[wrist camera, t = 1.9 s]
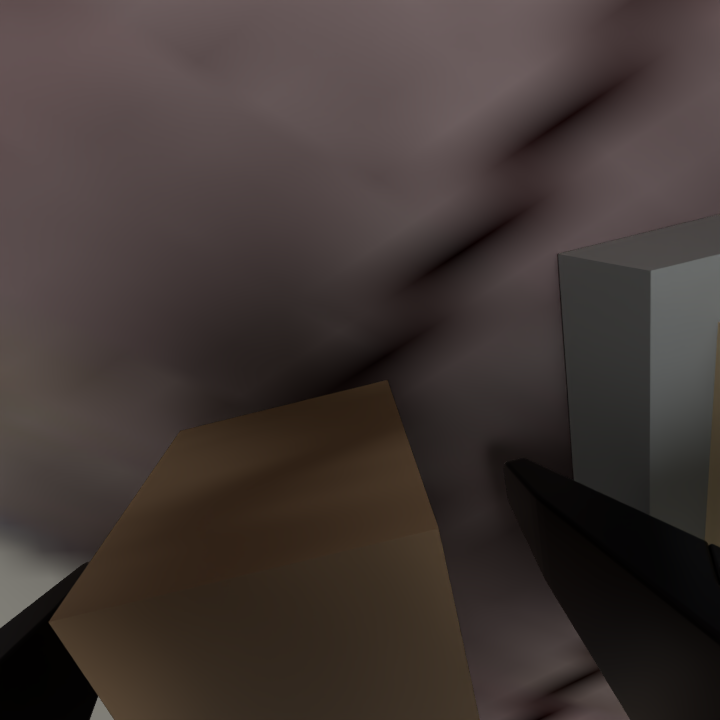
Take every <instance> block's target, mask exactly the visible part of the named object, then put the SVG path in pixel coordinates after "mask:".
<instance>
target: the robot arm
mask: <svg viewBox="0 0 720 720" xmlns="http://www.w3.org/2000/svg"><path fill="white" fill-rule="evenodd" d="M504 475H505V483H506V490H507V497H508V500H509V504H510V506H511V509H512V511H513V513H514V515H515V517H516V519H517V521H518V523H519V526H520V528H521V530H522V532H523V534H524V536H525V538H526V540H527V543H528V545H529V547H530V549H531V551H532V553H533V555H534V557H535V560H536V562H537V564H538V566H539V568H540V570H541V572H542V574H543V576H544V578H545V580H546V582H547V583H548V585H549V587H550V589H551V590H552V592H553V594H554V595H555V597H556V599H557V600H558V602H559V603H560V605H561V607H562V608H563V610H564V612H565V613H566V615H567V617H568V618H569V620H570V621H571V623H572V625H573V626H574V628H575V630H576V631H577V633H578V635H579V636H580V638H581V640H582V641H583V643H584V644H585V646H586V648H587V649H588V651H589V653H590V654H591V656H592V658H593V659H594V661H595V663H596V664H597V666H598V667H599V669H600V671H601V672H602V674H603V676H604V677H605V679H606V681H607V682H608V684H609V685H610V687H611V689H612V690H613V692H614V694H615V695H616V697H617V699H618V700H619V702H620V704H621V705H622V707H623V708H624V710H625V712H626V713H627V715H628V717H629V718H630V720H720V547H719V546H717V545H714V544H709V546H708V543H707V542H706V541H705V540H703V539H701V538H699V537H697V536H694V535H692V534H690V533H688V532H686V531H683V530H681V529H679V528H677V527H675V526H673V525H670V524H668V523H666V522H664V521H662V520H659V519H657V518H655V517H653V516H651V515H649V514H646V513H644V512H642V511H640V510H638V509H635V508H633V507H631V506H629V505H627V504H625V503H622V502H620V501H618V500H616V499H614V498H611V497H609V496H607V495H605V494H603V493H601V492H598V491H596V490H594V489H592V488H590V487H587V486H585V485H583V484H581V483H579V482H577V481H574V480H572V479H570V478H568V477H566V476H563V475H561V474H559V473H557V472H555V471H553V470H550V469H548V468H546V467H544V466H542V465H539V464H537V463H535V462H533V461H531V460H528V459H526V458H519V459H515V460H511V461H507V462H505V464H504ZM88 564H89V562H87V563H84V564H83V565H81V566H80V567H79V568H77V569H76V570H75V571H73V572H72V573H71V574H69V575H68V576H67V577H66V578H64V579H63V580H62V581H60V582H59V583H58V584H57V585H55V586H54V587H53V588H52V589H50V590H49V591H48V592H46V593H45V594H44V595H43V596H41V597H40V598H39V599H38V600H36V601H35V602H34V603H32V604H31V605H30V606H28V607H27V608H26V609H24V610H23V611H22V612H21V613H19V614H18V615H17V616H16V617H14V618H13V619H12V620H11V621H9V622H8V623H7V624H5V625H4V626H3V627H2V628H0V720H90V717H91V714H92V711H93V709H94V706H95V704H96V701H97V698H98V695H97V693H96V692H95V690H94V689H93V687H92V686H91V684H90V683H89V681H88V680H87V679H86V677H85V676H84V674H83V673H82V671H81V670H80V668H79V667H78V665H77V664H76V662H75V661H74V659H73V658H72V656H71V655H70V653H69V652H68V650H67V649H66V647H65V646H64V645H63V643H62V642H61V640H60V639H59V637H58V636H57V634H56V633H55V631H54V630H53V628H52V627H51V625H50V624H49V621H50V619H51V618H52V616H53V615H54V613H55V612H56V610H57V609H58V608H59V606H60V605H61V603H62V602H63V600H64V599H65V597H66V596H67V594H68V593H69V592H70V590H71V589H72V587H73V586H74V584H75V583H76V581H77V580H78V578H79V577H80V576H81V574H82V573H83V571H84V570H85V568H86V567H87V565H88Z"/></svg>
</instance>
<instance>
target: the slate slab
mask: <svg viewBox="0 0 720 720" xmlns="http://www.w3.org/2000/svg"><path fill="white" fill-rule="evenodd" d="M558 261H559V275H560V289H561V304H562V318H563V332H564V347H565V361H566V375H567V389H568V404H569V418H570V432H571V447H572V461H573V475H574V481H577V482H579V483H581V484H583V485H585V486H587V487H590V488H592V489H594V490H596V491H598V492H601V493H603V494H605V495H607V496H609V497H611V498H614V499H616V500H618V501H620V502H622V503H625V504H627V505H629V506H631V507H633V508H635V509H638V510H640V511H642V512H644V513H646V514H649V515H651V516H653V517H655V518H657V519H659V520H662V521H664V522H666V523H668V524H670V525H673V526H675V527H677V528H679V529H681V530H683V531H686V532H688V533H690V534H692V535H694V536H697V537H699V538H701V539H703V540H705V528H706V511H707V495H708V479H709V463H710V446H711V430H712V414H713V397H714V381H715V365H716V349H717V332H718V322H720V214H718V215H714V216H710V217H706V218H702V219H698V220H694V221H690V222H686V223H682V224H678V225H674V226H670V227H665V228H661V229H657V230H653V231H649V232H645V233H641V234H637V235H633V236H629V237H625V238H621V239H617V240H613V241H609V242H605V243H600V244H596V245H592V246H588V247H584V248H580V249H576V250H572V251H568V252H564V253H560V254H558Z"/></svg>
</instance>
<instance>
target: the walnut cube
mask: <svg viewBox="0 0 720 720" xmlns="http://www.w3.org/2000/svg"><path fill="white" fill-rule="evenodd" d="M49 624H50V625H51V627H52V628H53V630H54V631H55V633H56V634H57V636H58V637H59V639H60V640H61V642H62V643H63V645H64V646H65V647H66V649H67V650H68V652H69V653H70V655H71V656H72V658H73V659H74V661H75V662H76V664H77V665H78V667H79V668H80V670H81V671H82V673H83V674H84V676H85V677H86V679H87V680H88V681H89V683H90V684H91V686H92V687H93V689H94V690H95V692H96V693H97V695H98V696H99V698H100V699H101V701H102V702H103V704H104V705H105V707H106V708H107V710H108V711H109V713H110V714H111V715H112V717H113V718H114V720H480V719H479V714H478V709H477V705H476V700H475V695H474V691H473V686H472V682H471V677H470V672H469V668H468V663H467V658H466V654H465V649H464V644H463V640H462V635H461V630H460V626H459V621H458V616H457V612H456V607H455V603H454V598H453V593H452V589H451V584H450V579H449V575H448V570H447V565H446V561H445V556H444V551H443V547H442V542H441V537H440V533H439V528H438V525H437V522H436V520H435V517H434V514H433V511H432V508H431V505H430V502H429V499H428V496H427V493H426V491H425V488H424V485H423V482H422V479H421V476H420V473H419V470H418V467H417V465H416V462H415V459H414V456H413V453H412V450H411V447H410V444H409V441H408V438H407V436H406V433H405V430H404V427H403V424H402V421H401V418H400V415H399V412H398V409H397V407H396V404H395V401H394V398H393V395H392V392H391V389H390V386H389V383H388V380H385V381H381V382H377V383H373V384H369V385H365V386H361V387H357V388H353V389H349V390H345V391H340V392H336V393H332V394H328V395H324V396H320V397H316V398H312V399H308V400H304V401H300V402H296V403H292V404H287V405H283V406H279V407H275V408H271V409H267V410H263V411H259V412H255V413H251V414H247V415H243V416H239V417H234V418H230V419H226V420H222V421H218V422H214V423H210V424H206V425H202V426H198V427H194V428H190V429H186V430H181V431H180V432H179V433H178V435H177V436H176V438H175V439H174V441H173V442H172V443H171V445H170V446H169V448H168V449H167V451H166V452H165V454H164V455H163V456H162V458H161V459H160V461H159V462H158V464H157V465H156V467H155V468H154V470H153V471H152V472H151V474H150V475H149V477H148V478H147V480H146V481H145V483H144V484H143V486H142V487H141V488H140V490H139V491H138V493H137V494H136V496H135V497H134V499H133V500H132V502H131V503H130V504H129V506H128V507H127V509H126V510H125V512H124V513H123V515H122V516H121V517H120V519H119V520H118V522H117V523H116V525H115V526H114V528H113V529H112V531H111V532H110V533H109V535H108V536H107V538H106V539H105V541H104V542H103V544H102V545H101V547H100V548H99V549H98V551H97V552H96V554H95V555H94V557H93V558H92V560H91V561H90V562H89V564H88V565H87V567H86V568H85V570H84V571H83V573H82V574H81V576H80V577H79V578H78V580H77V581H76V583H75V584H74V586H73V587H72V589H71V590H70V592H69V593H68V594H67V596H66V597H65V599H64V600H63V602H62V603H61V605H60V606H59V608H58V609H57V610H56V612H55V613H54V615H53V616H52V618H51V619H50V621H49Z"/></svg>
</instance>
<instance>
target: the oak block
mask: <svg viewBox="0 0 720 720" xmlns="http://www.w3.org/2000/svg"><path fill="white" fill-rule="evenodd" d="M705 541H706V542H707V543H708V546H709V544H714V545H717V546H719V547H720V322H718V332H717V349H716V365H715V381H714V397H713V414H712V430H711V446H710V463H709V479H708V495H707V511H706V528H705Z"/></svg>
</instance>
